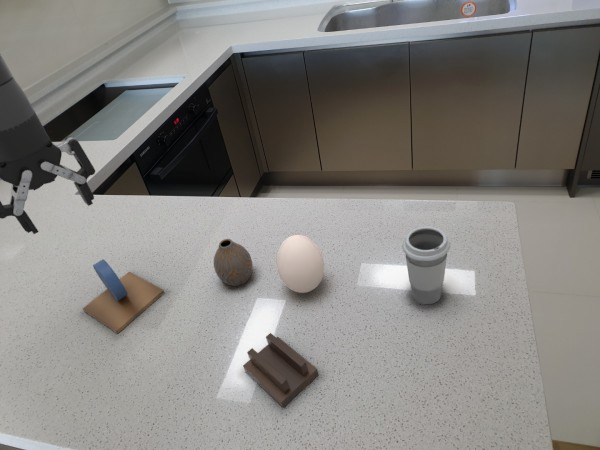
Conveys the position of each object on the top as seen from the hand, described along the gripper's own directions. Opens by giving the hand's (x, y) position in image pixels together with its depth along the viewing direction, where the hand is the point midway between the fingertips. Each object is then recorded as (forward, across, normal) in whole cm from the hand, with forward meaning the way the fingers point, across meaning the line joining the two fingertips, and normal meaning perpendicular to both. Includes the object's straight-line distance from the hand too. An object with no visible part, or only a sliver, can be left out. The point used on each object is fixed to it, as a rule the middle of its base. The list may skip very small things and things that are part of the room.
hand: (62, 216), depth 70 cm
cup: (+23, +37, -39) cm, 59 cm away
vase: (+23, +20, -10) cm, 32 cm away
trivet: (+23, +2, +3) cm, 23 cm away
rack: (+23, +12, -32) cm, 41 cm away
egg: (+23, +26, -22) cm, 41 cm away
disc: (+18, +2, +5) cm, 19 cm away
